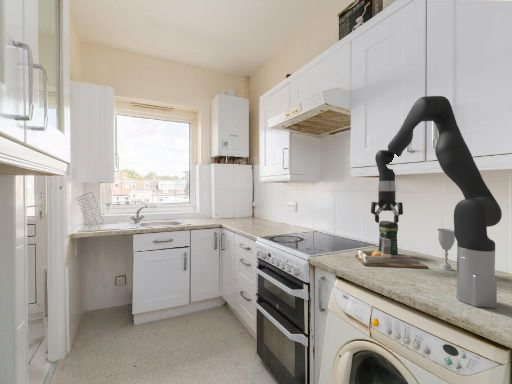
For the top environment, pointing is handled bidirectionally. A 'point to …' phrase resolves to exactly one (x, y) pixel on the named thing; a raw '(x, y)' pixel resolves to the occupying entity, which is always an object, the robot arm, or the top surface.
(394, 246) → the coffee jar
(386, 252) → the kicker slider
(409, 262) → the board
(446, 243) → the chalice
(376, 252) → the ball
